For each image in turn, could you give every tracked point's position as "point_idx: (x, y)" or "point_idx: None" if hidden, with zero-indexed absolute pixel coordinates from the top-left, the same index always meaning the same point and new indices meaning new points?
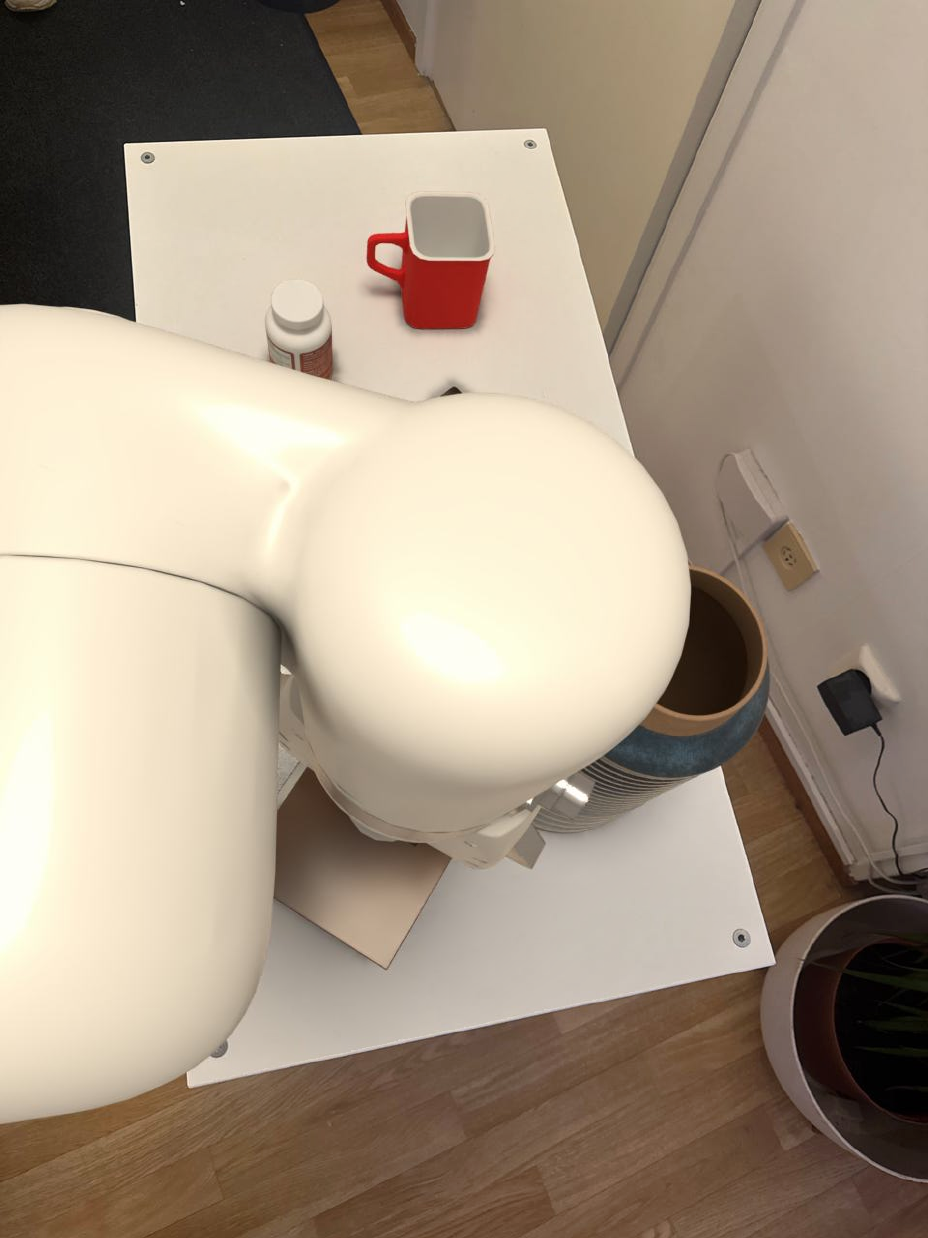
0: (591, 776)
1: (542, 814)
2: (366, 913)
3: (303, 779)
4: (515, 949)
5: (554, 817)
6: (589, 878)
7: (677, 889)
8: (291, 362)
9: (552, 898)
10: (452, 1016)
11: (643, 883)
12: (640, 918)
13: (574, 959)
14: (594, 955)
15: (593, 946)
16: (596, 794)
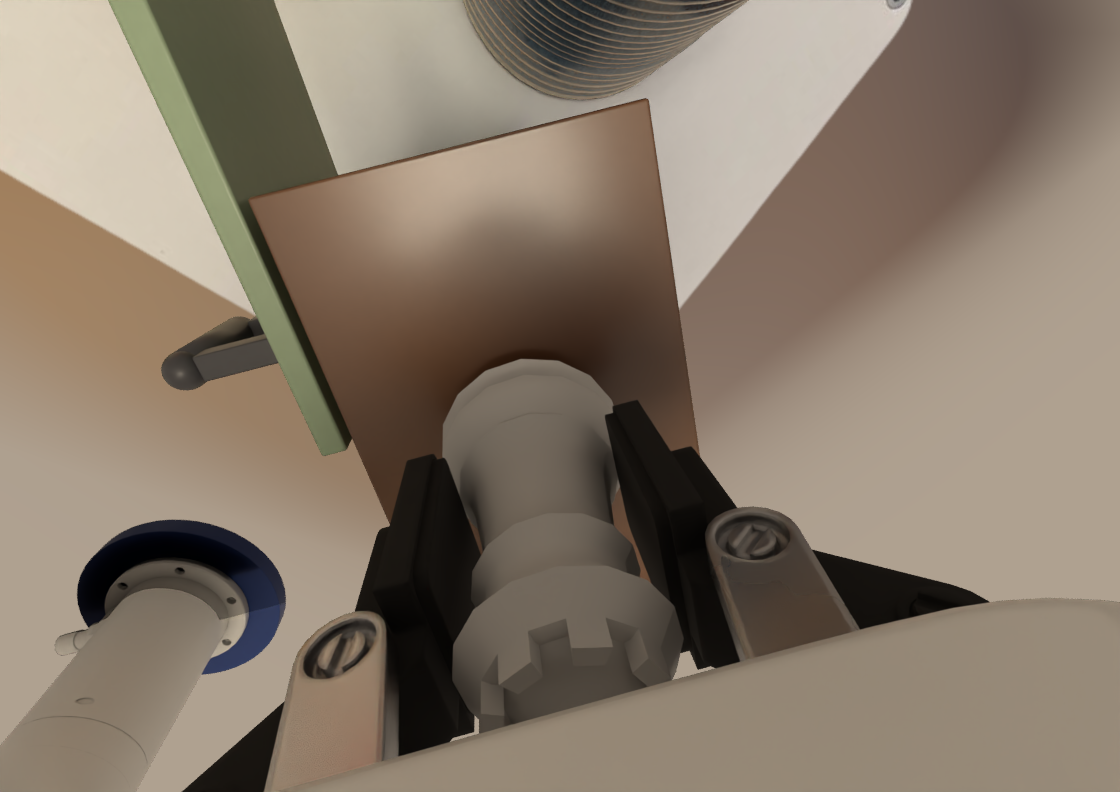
0: (727, 1)
1: (637, 78)
2: (639, 557)
3: (390, 508)
4: (690, 212)
5: (653, 70)
6: (712, 85)
7: (805, 8)
8: None
9: (691, 138)
10: (678, 304)
11: (767, 36)
12: (784, 76)
13: (746, 172)
14: (761, 152)
15: (756, 145)
16: (727, 13)
